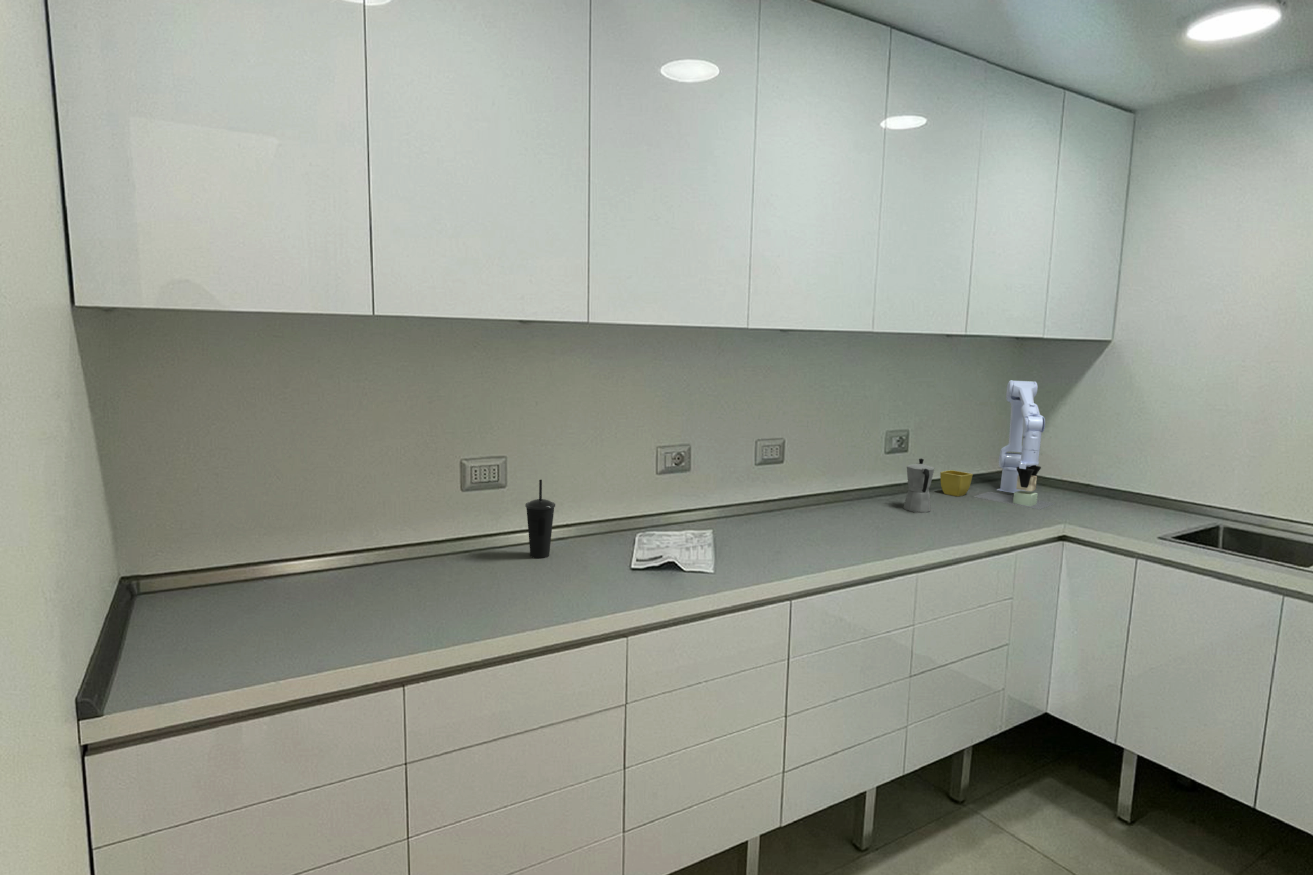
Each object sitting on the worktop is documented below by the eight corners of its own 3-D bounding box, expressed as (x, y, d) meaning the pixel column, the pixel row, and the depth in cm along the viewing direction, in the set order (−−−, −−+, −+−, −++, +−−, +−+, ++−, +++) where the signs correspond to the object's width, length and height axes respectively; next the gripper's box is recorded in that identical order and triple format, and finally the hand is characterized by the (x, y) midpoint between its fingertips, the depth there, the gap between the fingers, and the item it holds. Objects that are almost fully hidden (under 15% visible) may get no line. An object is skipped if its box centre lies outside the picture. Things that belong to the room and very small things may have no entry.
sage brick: (1019, 500, 268) (1020, 490, 267) (1036, 504, 263) (1037, 493, 263) (1012, 503, 264) (1014, 492, 263) (1030, 506, 259) (1031, 495, 259)
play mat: (989, 493, 282) (989, 491, 282) (1055, 505, 265) (1055, 503, 265) (972, 498, 272) (972, 496, 272) (1039, 511, 255) (1040, 509, 255)
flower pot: (949, 492, 282) (951, 469, 280) (971, 496, 275) (973, 473, 274) (937, 495, 276) (939, 471, 275) (959, 499, 269) (961, 475, 268)
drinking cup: (560, 554, 188) (561, 479, 185) (541, 562, 182) (542, 484, 179) (538, 549, 192) (538, 475, 189) (518, 556, 186) (519, 480, 183)
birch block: (1020, 487, 266) (1022, 473, 265) (1035, 489, 263) (1036, 476, 262) (1016, 489, 263) (1017, 475, 262) (1030, 491, 259) (1032, 477, 258)
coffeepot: (898, 504, 258) (902, 454, 256) (925, 505, 258) (929, 455, 255) (909, 514, 243) (914, 462, 240) (938, 516, 242) (943, 463, 240)
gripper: (1025, 446, 268) (1021, 481, 270) (1012, 449, 258) (1008, 486, 260) (1046, 448, 263) (1042, 485, 265) (1033, 452, 253) (1029, 490, 255)
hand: (1026, 486), depth 262 cm, fingers closed on birch block, 5 cm apart
